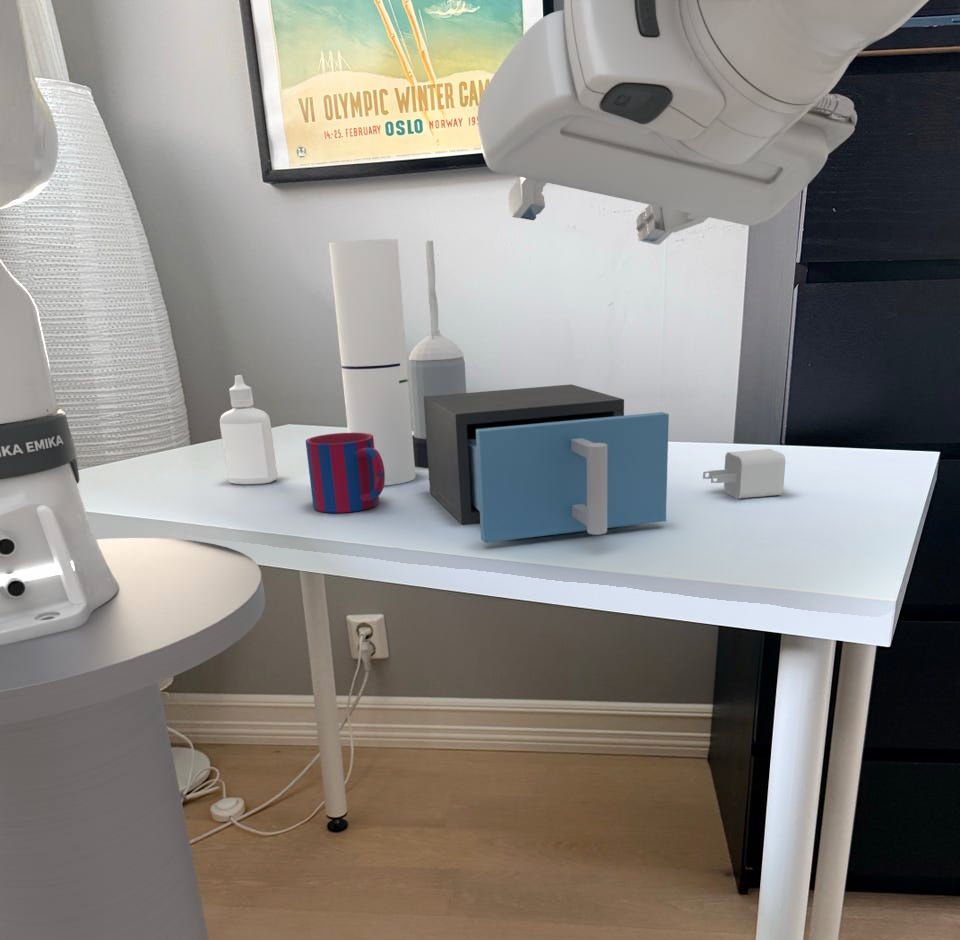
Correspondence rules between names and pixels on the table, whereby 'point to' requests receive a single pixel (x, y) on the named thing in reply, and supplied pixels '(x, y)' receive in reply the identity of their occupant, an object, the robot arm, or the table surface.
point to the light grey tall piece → (432, 368)
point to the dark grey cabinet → (466, 412)
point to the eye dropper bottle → (247, 439)
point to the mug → (344, 472)
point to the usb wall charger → (751, 473)
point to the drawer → (569, 476)
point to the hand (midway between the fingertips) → (584, 221)
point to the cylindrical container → (374, 349)
